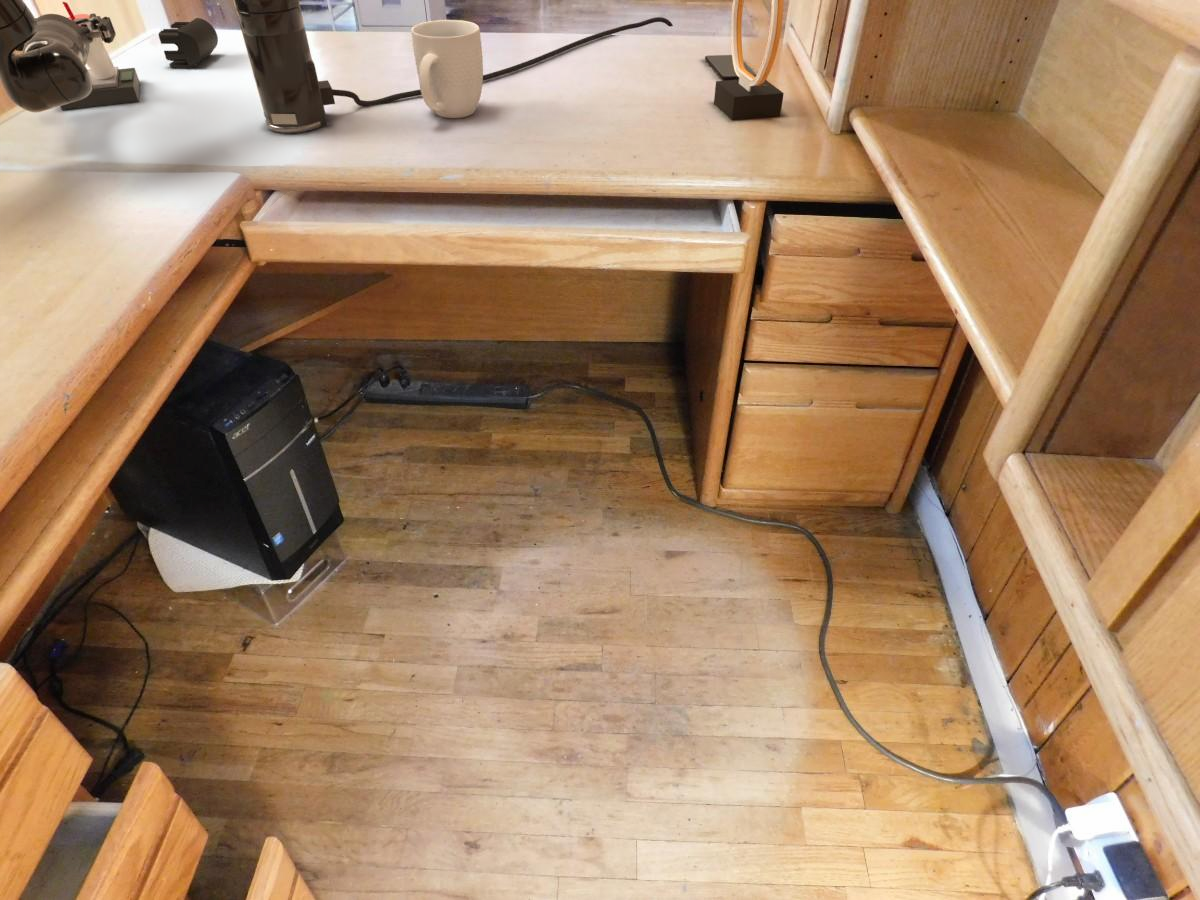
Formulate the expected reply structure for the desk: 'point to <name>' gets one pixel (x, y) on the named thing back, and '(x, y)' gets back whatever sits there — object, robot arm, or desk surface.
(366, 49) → the desk surface
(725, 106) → the lamp
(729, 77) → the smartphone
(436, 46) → the mug
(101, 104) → the scale
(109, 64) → the cup
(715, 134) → the desk surface
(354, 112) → the desk surface
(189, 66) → the end cap
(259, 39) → the robot arm
